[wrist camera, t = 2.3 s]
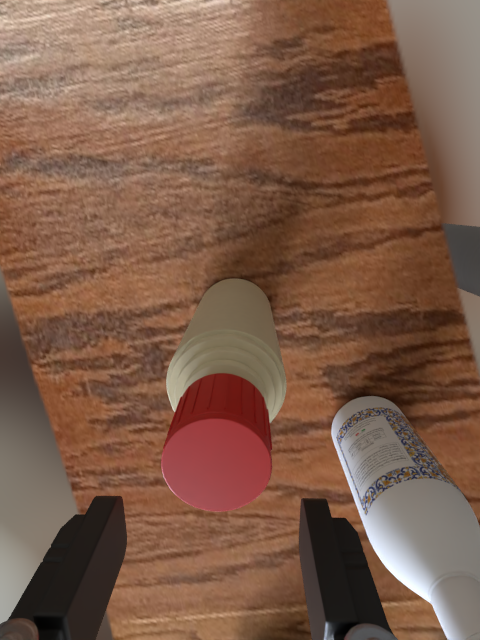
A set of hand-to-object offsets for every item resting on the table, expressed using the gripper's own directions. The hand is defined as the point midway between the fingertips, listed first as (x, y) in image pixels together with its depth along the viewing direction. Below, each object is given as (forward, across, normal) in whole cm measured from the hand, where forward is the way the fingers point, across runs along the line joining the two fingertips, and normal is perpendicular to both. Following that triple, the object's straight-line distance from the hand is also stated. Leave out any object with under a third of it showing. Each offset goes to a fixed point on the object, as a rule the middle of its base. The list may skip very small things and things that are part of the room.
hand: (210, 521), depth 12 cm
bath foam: (+23, -13, +11) cm, 29 cm away
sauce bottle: (+23, 0, 0) cm, 23 cm away
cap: (+6, 0, 0) cm, 6 cm away
